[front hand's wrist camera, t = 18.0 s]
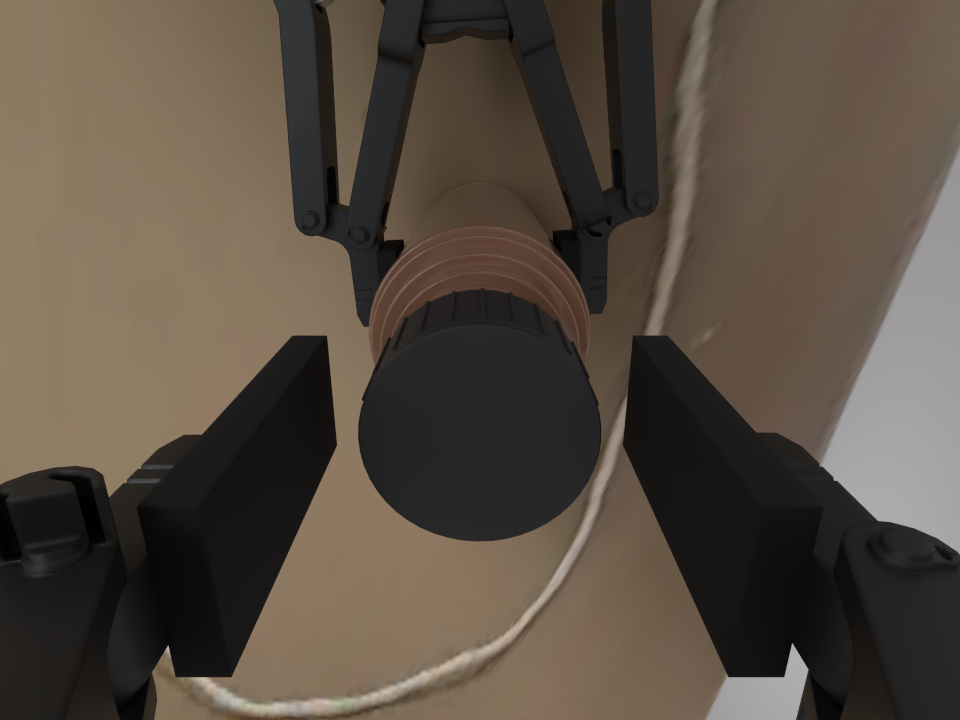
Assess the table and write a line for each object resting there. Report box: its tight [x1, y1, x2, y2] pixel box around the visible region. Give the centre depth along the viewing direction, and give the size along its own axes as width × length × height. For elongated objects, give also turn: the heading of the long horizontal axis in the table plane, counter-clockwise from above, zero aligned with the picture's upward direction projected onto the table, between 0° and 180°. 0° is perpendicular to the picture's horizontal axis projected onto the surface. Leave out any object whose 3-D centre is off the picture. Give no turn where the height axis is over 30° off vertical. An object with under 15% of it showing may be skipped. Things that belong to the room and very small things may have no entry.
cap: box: [358, 288, 601, 541], centre depth 13 cm, size 5×5×3 cm
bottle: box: [369, 182, 591, 366], centre depth 22 cm, size 6×6×20 cm
